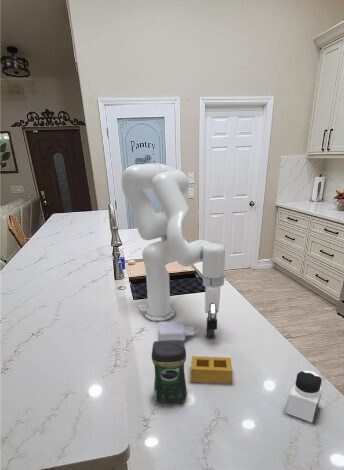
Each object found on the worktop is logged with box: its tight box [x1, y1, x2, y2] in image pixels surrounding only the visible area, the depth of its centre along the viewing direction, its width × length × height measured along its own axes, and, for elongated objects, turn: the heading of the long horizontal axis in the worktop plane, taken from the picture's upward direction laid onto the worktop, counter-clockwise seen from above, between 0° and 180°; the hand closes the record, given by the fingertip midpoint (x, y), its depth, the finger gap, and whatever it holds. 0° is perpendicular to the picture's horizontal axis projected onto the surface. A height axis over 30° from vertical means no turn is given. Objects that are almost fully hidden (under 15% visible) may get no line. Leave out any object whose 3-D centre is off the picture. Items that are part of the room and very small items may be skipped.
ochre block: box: [190, 355, 233, 385], centre depth 104 cm, size 12×7×5 cm, turn 85°
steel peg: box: [205, 316, 216, 339], centre depth 125 cm, size 3×3×8 cm
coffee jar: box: [151, 340, 188, 405], centre depth 93 cm, size 10×8×19 cm
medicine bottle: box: [285, 370, 324, 423], centre depth 88 cm, size 7×7×12 cm
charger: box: [158, 320, 200, 342], centre depth 126 cm, size 5×9×15 cm
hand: (212, 322), depth 123 cm, fingers open, 9 cm apart
